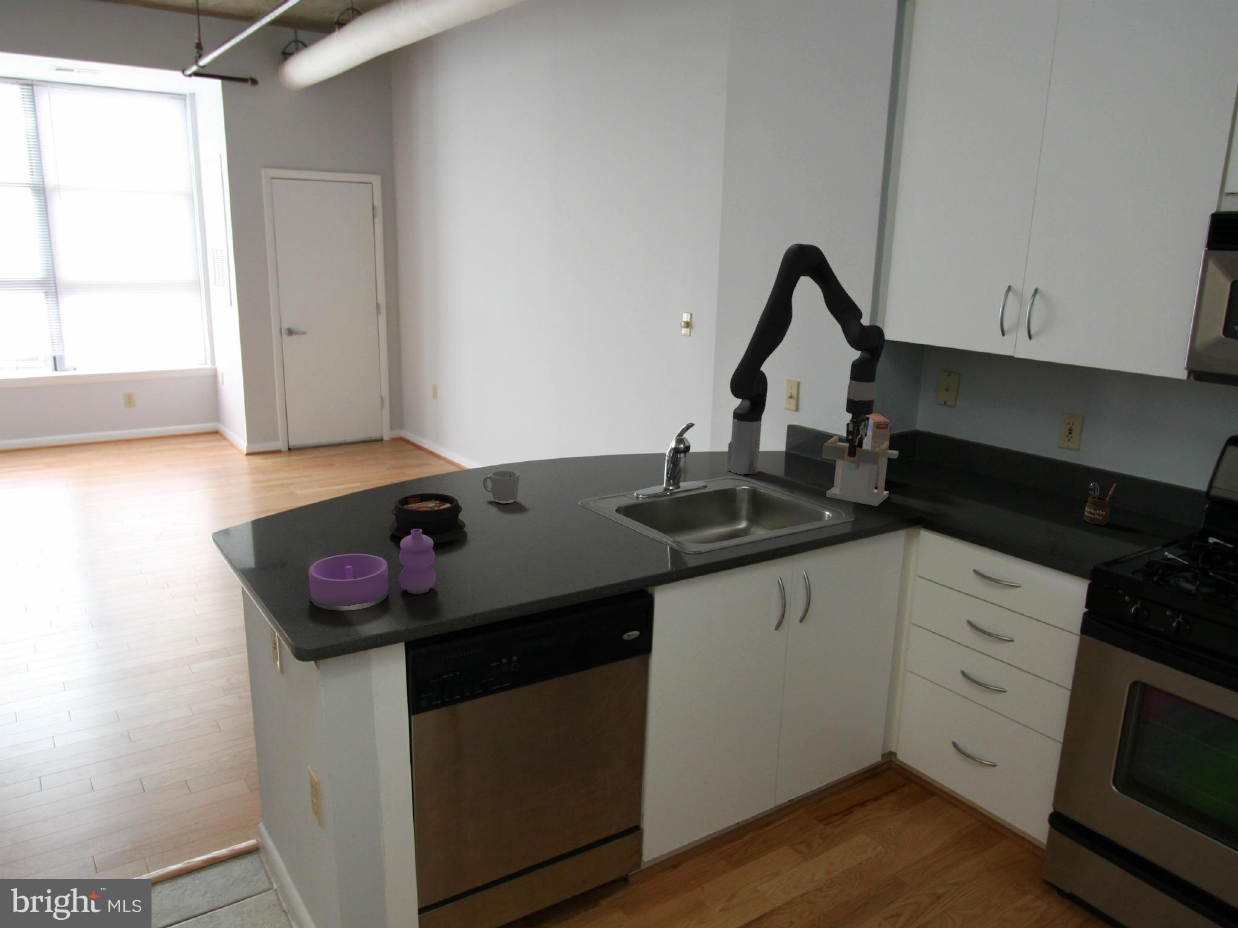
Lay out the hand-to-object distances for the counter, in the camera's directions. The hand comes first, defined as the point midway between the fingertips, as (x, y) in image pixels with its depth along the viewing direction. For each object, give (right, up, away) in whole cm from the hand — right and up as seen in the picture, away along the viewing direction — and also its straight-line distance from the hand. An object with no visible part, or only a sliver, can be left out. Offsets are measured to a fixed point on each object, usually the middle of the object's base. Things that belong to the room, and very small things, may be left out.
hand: (854, 454), depth 255 cm
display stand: (+2, -13, +8) cm, 15 cm away
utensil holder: (+65, -19, -8) cm, 68 cm away
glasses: (+2, -1, +7) cm, 7 cm away
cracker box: (+11, -8, +26) cm, 30 cm away
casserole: (-115, -20, -34) cm, 122 cm away
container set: (-118, -30, -71) cm, 141 cm away
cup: (-101, -13, -7) cm, 102 cm away
